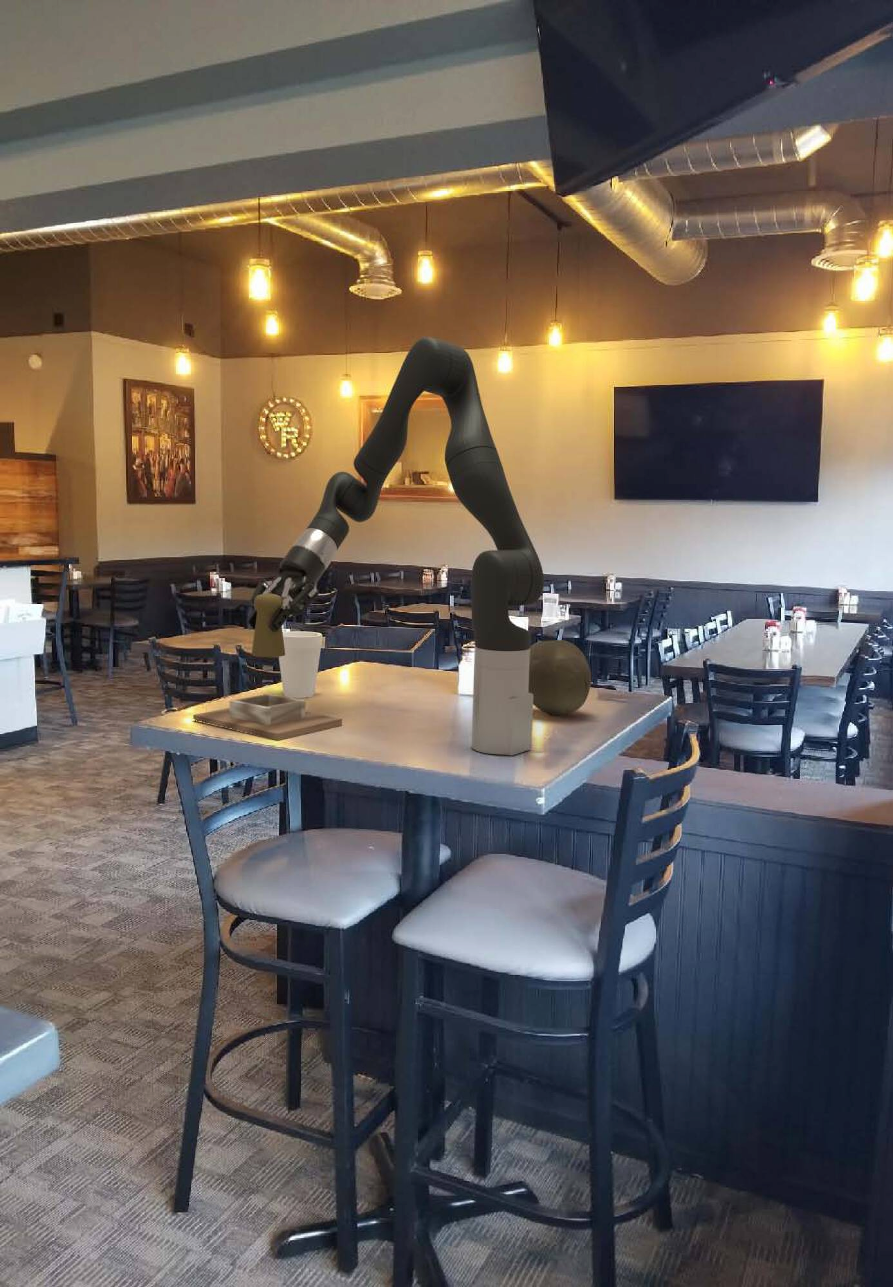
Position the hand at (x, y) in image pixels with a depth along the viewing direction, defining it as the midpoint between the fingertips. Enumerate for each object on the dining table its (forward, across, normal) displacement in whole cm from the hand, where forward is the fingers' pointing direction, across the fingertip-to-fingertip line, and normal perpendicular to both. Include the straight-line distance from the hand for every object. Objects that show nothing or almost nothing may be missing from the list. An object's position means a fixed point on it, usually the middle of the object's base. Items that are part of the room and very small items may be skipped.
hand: (261, 627), depth 172 cm
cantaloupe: (-19, +35, +44) cm, 60 cm away
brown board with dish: (+12, 0, +14) cm, 18 cm away
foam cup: (-5, -15, +30) cm, 34 cm away
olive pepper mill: (+2, 0, +5) cm, 6 cm away
